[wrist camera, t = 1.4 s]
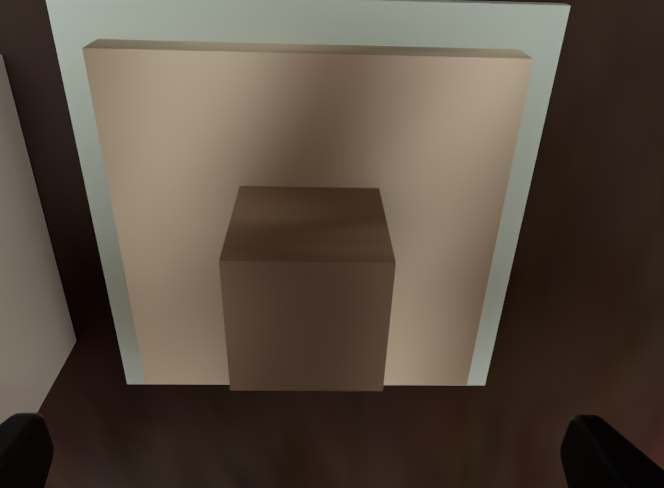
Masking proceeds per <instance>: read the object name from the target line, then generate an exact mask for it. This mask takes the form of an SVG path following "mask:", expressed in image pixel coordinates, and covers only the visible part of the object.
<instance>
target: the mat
mask: <svg viewBox="0 0 664 488" xmlns="http://www.w3.org/2000/svg"><path fill="white" fill-rule="evenodd" d="M46 4H47V8H48V13H49V18H50V23H51V27H52V32H53V37H54V41H55V46H56V51H57V56H58V60H59V65H60V70H61V74H62V79H63V84H64V89H65V93H66V98H67V103H68V107H69V112H70V117H71V122H72V126H73V131H74V136H75V140H76V145H77V150H78V155H79V159H80V164H81V169H82V173H83V178H84V183H85V188H86V192H87V197H88V202H89V206H90V211H91V216H92V221H93V225H94V230H95V235H96V239H97V244H98V249H99V254H100V258H101V263H102V268H103V272H104V277H105V282H106V287H107V291H108V296H109V301H110V305H111V310H112V315H113V320H114V324H115V329H116V334H117V338H118V343H119V348H120V353H121V357H122V362H123V367H124V371H125V376H126V381H127V384H146V383H145V378H144V373H143V367H142V362H141V357H140V351H139V346H138V341H137V336H136V330H135V325H134V320H133V314H132V309H131V304H130V299H129V293H128V288H127V283H126V278H125V272H124V267H123V262H122V256H121V251H120V246H119V241H118V235H117V230H116V225H115V219H114V214H113V209H112V204H111V198H110V193H109V188H108V183H107V177H106V172H105V167H104V161H103V156H102V151H101V146H100V140H99V135H98V130H97V124H96V119H95V114H94V109H93V103H92V98H91V93H90V87H89V82H88V77H87V72H86V66H85V61H84V56H83V51H82V48H83V47H85V46H86V45H88V44H90V43H91V42H93V41H95V40H96V39H117V40H158V41H199V42H240V43H281V44H322V45H363V46H404V47H445V48H486V49H520V50H521V51H523V52H524V53H526V54H527V55H528V56H530V57H531V58H533V63H532V68H531V73H530V78H529V82H528V87H527V92H526V97H525V102H524V107H523V112H522V117H521V122H520V127H519V132H518V136H517V141H516V146H515V151H514V156H513V161H512V166H511V171H510V176H509V181H508V186H507V190H506V195H505V200H504V205H503V210H502V215H501V220H500V225H499V230H498V235H497V240H496V245H495V249H494V254H493V259H492V264H491V269H490V274H489V279H488V284H487V289H486V294H485V299H484V303H483V308H482V313H481V318H480V323H479V328H478V333H477V338H476V343H475V348H474V353H473V357H472V362H471V367H470V372H469V377H468V382H467V385H485V383H486V379H487V374H488V370H489V365H490V361H491V356H492V352H493V348H494V343H495V339H496V334H497V330H498V325H499V321H500V317H501V312H502V308H503V303H504V299H505V294H506V290H507V286H508V281H509V277H510V272H511V268H512V263H513V259H514V255H515V250H516V246H517V241H518V237H519V232H520V228H521V224H522V219H523V215H524V210H525V206H526V201H527V197H528V193H529V188H530V184H531V179H532V175H533V170H534V166H535V162H536V157H537V153H538V148H539V144H540V139H541V135H542V131H543V126H544V122H545V117H546V113H547V108H548V104H549V100H550V95H551V91H552V86H553V82H554V77H555V73H556V69H557V64H558V60H559V55H560V51H561V46H562V42H563V38H564V33H565V29H566V24H567V20H568V15H569V11H570V7H571V6H570V5H568V4H565V3H539V2H502V1H466V0H46ZM195 385H230V384H195Z"/></svg>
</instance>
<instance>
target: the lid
mask: <svg viewBox="0 0 664 488" xmlns="http://www.w3.org/2000/svg"><path fill="white" fill-rule="evenodd" d="M82 51H83V56H84V61H85V66H86V72H87V77H88V82H89V87H90V93H91V98H92V103H93V109H94V114H95V119H96V124H97V130H98V135H99V140H100V146H101V151H102V156H103V161H104V167H105V172H106V177H107V183H108V188H109V193H110V198H111V204H112V209H113V214H114V219H115V225H116V230H117V235H118V241H119V246H120V251H121V256H122V262H123V267H124V272H125V278H126V283H127V288H128V293H129V299H130V304H131V309H132V314H133V320H134V325H135V330H136V336H137V341H138V346H139V351H140V357H141V362H142V367H143V373H144V378H145V383H146V384H230V391H383V385H467V382H468V377H469V372H470V367H471V362H472V357H473V353H474V348H475V343H476V338H477V333H478V328H479V323H480V318H481V313H482V308H483V303H484V299H485V294H486V289H487V284H488V279H489V274H490V269H491V264H492V259H493V254H494V249H495V245H496V240H497V235H498V230H499V225H500V220H501V215H502V210H503V205H504V200H505V195H506V190H507V186H508V181H509V176H510V171H511V166H512V161H513V156H514V151H515V146H516V141H517V136H518V132H519V127H520V122H521V117H522V112H523V107H524V102H525V97H526V92H527V87H528V82H529V78H530V73H531V68H532V63H533V58H531V57H530V56H528V55H527V54H526V53H524V52H523V51H521V50H520V49H486V48H445V47H404V46H363V45H322V44H281V43H240V42H199V41H158V40H117V39H96V40H95V41H93V42H91V43H90V44H88V45H86V46H85V47H83V48H82Z"/></svg>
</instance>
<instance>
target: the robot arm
mask: <svg viewBox="0 0 664 488" xmlns="http://www.w3.org/2000/svg"><path fill="white" fill-rule="evenodd" d="M53 451H54V450H53V443H52V440H51V437H50V434H49V431H48V428H47V425H46V422H45V419H44V417H43V416H42V415H41V414H40V413H16V414H14V415H12V416H10V417H9V418H8V419H6V420H5V421H4V422H2V423H1V424H0V488H44V486H45V483H46V480H47V476H48V473H49V469H50V466H51V463H52V459H53ZM561 461H562V465H563V469H564V472H565V476H566V480H567V484H568V488H664V470H663V469H662V468H660V467H659V466H658V465H657V464H656V463H654V462H653V461H652V460H651V459H650V458H648V457H647V456H646V455H645V454H644V453H643V452H641V451H640V450H639V449H638V448H637V447H635V446H634V445H633V444H632V443H631V442H629V441H628V440H627V439H626V438H625V437H623V436H622V435H621V434H620V433H619V432H617V431H616V430H615V429H614V428H613V427H612V426H610V425H609V424H608V423H607V422H606V421H604V420H603V419H602V418H600V417H599V416H596V415H574V416H573V417H572V418H571V419H570V422H569V425H568V427H567V430H566V433H565V436H564V439H563V442H562V445H561Z"/></svg>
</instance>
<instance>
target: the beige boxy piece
mask: <svg viewBox="0 0 664 488" xmlns="http://www.w3.org/2000/svg"><path fill="white" fill-rule="evenodd" d="M75 343H76V337H75V333H74V329H73V325H72V321H71V318H70V314H69V310H68V306H67V302H66V298H65V294H64V291H63V287H62V283H61V279H60V275H59V271H58V268H57V264H56V260H55V256H54V252H53V248H52V245H51V241H50V237H49V233H48V229H47V225H46V221H45V218H44V214H43V210H42V206H41V202H40V198H39V195H38V191H37V187H36V183H35V179H34V175H33V171H32V168H31V164H30V160H29V156H28V152H27V148H26V145H25V141H24V137H23V133H22V129H21V125H20V122H19V118H18V114H17V110H16V106H15V102H14V98H13V95H12V91H11V87H10V83H9V79H8V75H7V72H6V68H5V64H4V60H3V56H2V55H0V424H1V423H2V422H4V421H5V420H6V419H8V418H9V417H10V416H12V415H14V414H16V413H37V412H38V410H39V408H40V406H41V405H42V403H43V401H44V399H45V397H46V396H47V394H48V392H49V390H50V388H51V387H52V385H53V383H54V381H55V379H56V378H57V376H58V374H59V372H60V370H61V369H62V367H63V365H64V363H65V361H66V359H67V358H68V356H69V354H70V352H71V350H72V349H73V347H74V345H75Z"/></svg>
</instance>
